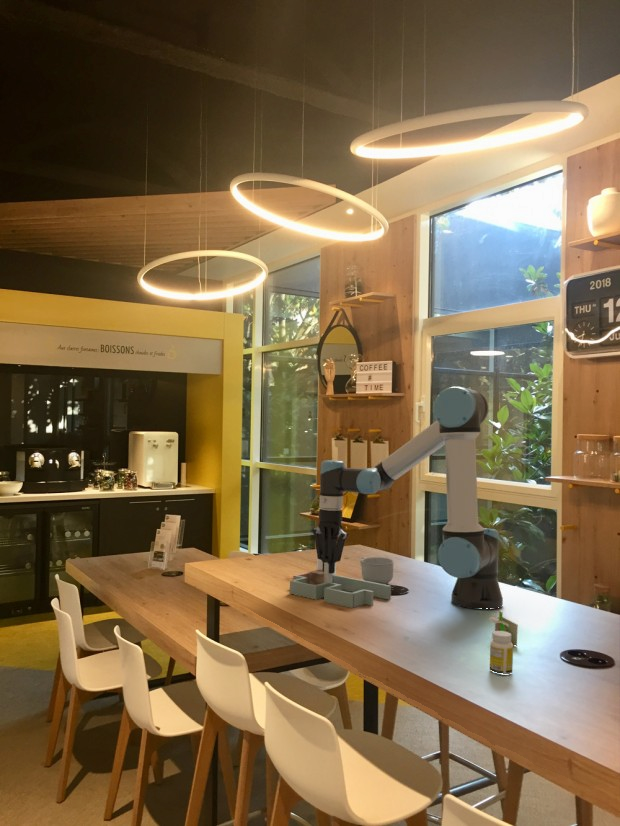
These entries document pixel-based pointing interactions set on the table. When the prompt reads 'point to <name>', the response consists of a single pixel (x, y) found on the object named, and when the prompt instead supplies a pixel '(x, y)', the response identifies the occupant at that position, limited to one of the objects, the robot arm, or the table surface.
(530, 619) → the table surface
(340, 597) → the box
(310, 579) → the block
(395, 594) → the table surface
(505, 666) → the supplement bottle
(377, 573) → the teacup
